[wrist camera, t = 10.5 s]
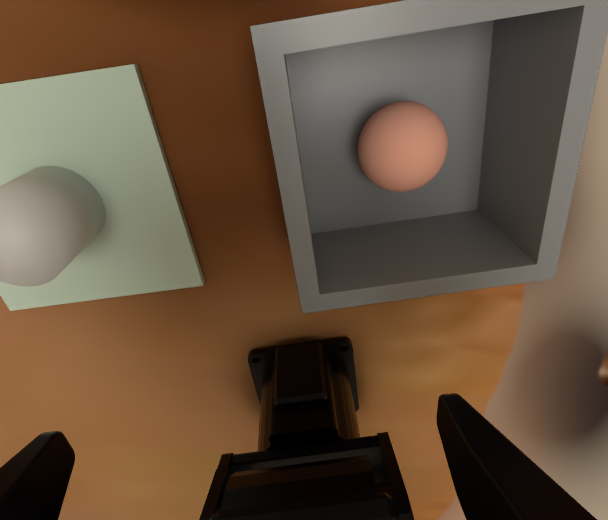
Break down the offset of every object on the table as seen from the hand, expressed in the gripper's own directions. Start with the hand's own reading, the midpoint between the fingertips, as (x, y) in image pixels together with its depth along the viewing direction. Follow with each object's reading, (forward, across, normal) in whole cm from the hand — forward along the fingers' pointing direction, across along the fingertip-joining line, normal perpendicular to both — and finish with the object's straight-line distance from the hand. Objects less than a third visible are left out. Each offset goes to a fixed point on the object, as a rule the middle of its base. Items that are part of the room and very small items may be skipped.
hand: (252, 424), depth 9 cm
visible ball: (+12, -6, -4) cm, 14 cm away
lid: (+13, +10, -2) cm, 16 cm away
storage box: (+12, -6, -4) cm, 14 cm away
